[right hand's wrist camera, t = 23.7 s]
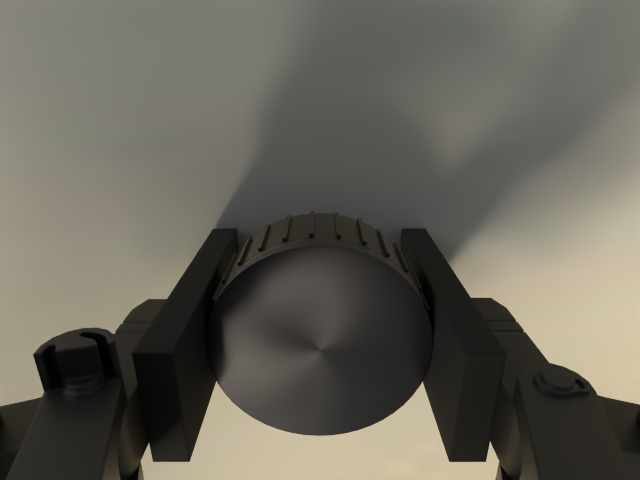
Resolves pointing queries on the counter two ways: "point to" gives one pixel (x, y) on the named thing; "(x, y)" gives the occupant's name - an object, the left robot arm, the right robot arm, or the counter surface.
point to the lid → (319, 326)
